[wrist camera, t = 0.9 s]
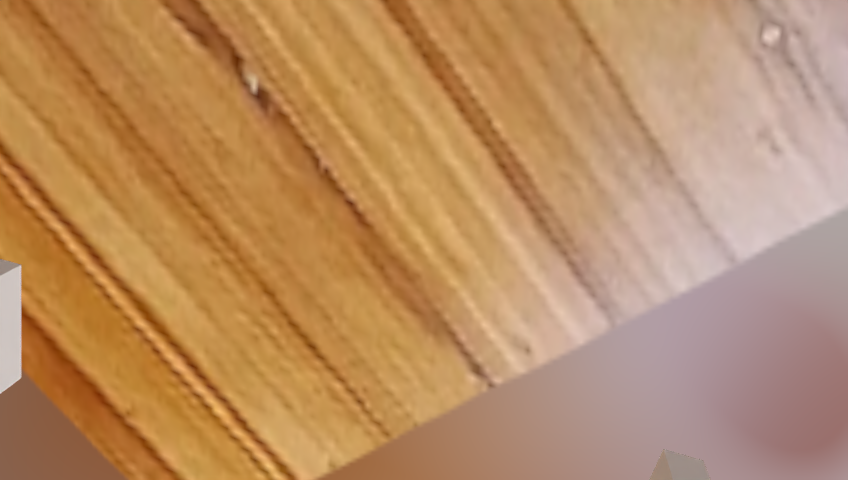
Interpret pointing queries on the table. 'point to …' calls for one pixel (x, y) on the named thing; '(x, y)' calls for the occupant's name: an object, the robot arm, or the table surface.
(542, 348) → the table surface
